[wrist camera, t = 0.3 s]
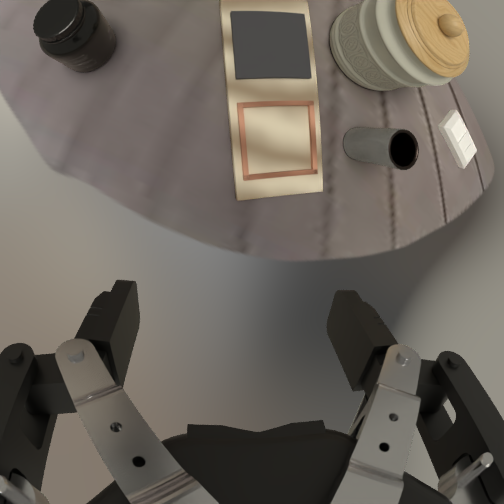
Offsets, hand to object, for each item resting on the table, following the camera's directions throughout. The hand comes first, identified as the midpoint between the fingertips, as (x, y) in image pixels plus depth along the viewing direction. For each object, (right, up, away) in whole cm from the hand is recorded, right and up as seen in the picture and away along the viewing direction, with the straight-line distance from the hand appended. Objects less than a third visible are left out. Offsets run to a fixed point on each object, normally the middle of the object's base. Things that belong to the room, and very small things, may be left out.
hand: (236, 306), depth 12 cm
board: (+3, +21, +21) cm, 30 cm away
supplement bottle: (-19, +27, +15) cm, 36 cm away
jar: (+17, +30, +21) cm, 41 cm away
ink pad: (+3, +26, +18) cm, 32 cm away
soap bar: (+35, +21, +29) cm, 51 cm away
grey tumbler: (+15, +17, +26) cm, 34 cm away
